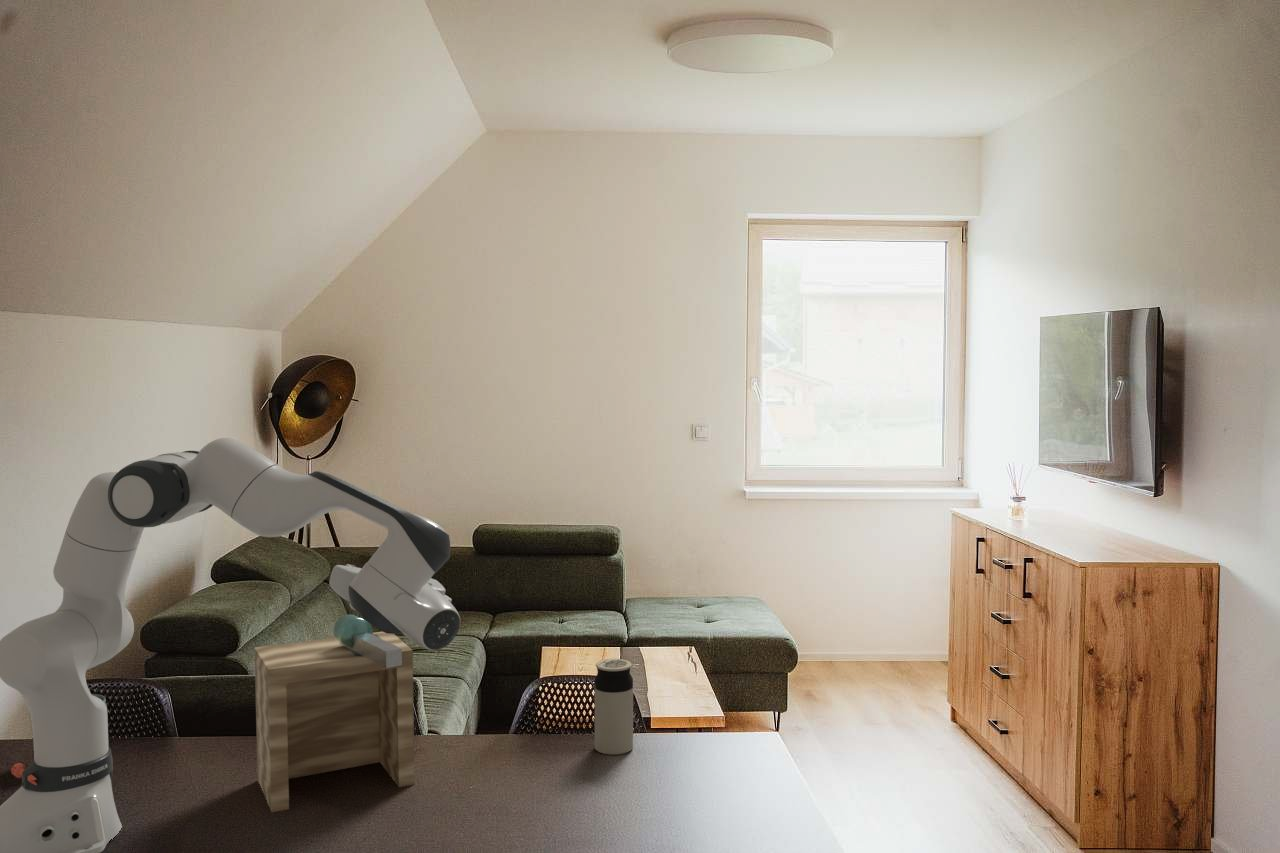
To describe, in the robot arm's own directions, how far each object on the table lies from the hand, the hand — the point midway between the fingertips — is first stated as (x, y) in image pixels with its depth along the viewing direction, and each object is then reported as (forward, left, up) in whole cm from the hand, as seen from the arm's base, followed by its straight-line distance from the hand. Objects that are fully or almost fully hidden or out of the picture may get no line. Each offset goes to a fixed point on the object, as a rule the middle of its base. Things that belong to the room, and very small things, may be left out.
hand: (372, 572), depth 189 cm
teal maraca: (+1, +3, -16) cm, 16 cm away
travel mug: (+47, -16, -43) cm, 65 cm away
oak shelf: (-1, +12, -42) cm, 44 cm away
